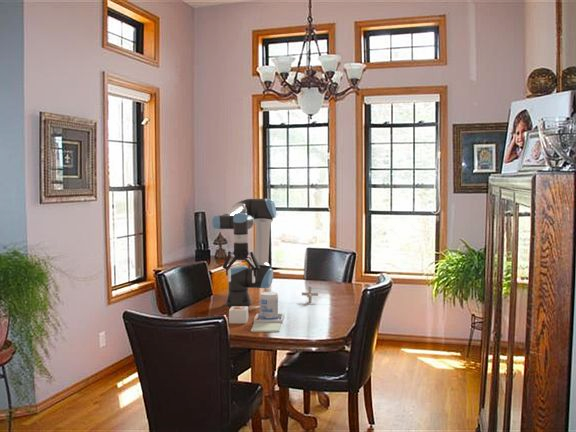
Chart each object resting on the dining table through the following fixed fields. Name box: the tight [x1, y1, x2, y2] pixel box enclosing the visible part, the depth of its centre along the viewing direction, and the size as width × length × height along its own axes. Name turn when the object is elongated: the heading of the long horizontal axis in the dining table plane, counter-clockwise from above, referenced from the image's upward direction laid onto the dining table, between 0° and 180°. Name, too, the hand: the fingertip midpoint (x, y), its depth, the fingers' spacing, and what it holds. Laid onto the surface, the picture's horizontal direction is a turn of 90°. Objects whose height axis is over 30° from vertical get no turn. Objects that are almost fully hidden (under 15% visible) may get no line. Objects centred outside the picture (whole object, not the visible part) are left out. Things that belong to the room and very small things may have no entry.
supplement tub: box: [259, 291, 279, 320], centre depth 305 cm, size 10×10×15 cm
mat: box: [250, 322, 282, 333], centre depth 289 cm, size 14×14×1 cm
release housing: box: [228, 306, 249, 324], centre depth 304 cm, size 9×9×7 cm
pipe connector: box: [301, 285, 319, 304], centre depth 349 cm, size 10×10×10 cm
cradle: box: [253, 312, 285, 325], centre depth 305 cm, size 15×15×2 cm
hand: (241, 282), depth 303 cm, fingers open, 13 cm apart
